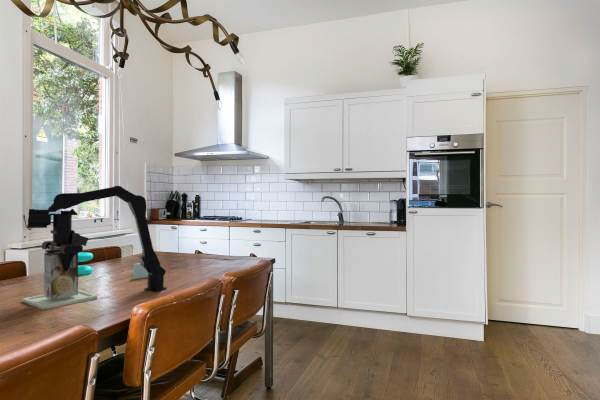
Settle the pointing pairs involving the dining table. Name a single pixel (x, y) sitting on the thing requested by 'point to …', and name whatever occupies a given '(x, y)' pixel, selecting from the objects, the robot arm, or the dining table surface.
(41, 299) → the sage tray
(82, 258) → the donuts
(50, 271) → the coffee box
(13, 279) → the dining table surface
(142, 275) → the right angle wall
